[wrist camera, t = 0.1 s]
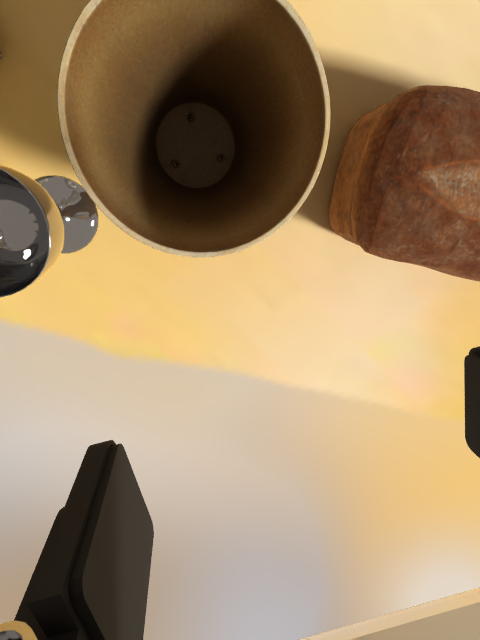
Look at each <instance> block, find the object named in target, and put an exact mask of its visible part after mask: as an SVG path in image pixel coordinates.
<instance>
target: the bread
mask: <svg viewBox="0 0 480 640" xmlns="http://www.w3.org/2000/svg"><path fill="white" fill-rule="evenodd" d="M329 219H330V226H331V229H332V230H333V231H334V232H336V233H337V234H338V235H340V236H341V237H343V238H344V239H345V240H348V241H350V242H352V243H355V244H357V245H360V246H361V247H362V249H363V250H364V251H365V252H367V253H370V254H373V255H375V256H378V257H381V258H385V259H390V260H394V261H399V262H406V263H411V264H415V265H420V266H424V267H427V268H430V269H433V270H436V271H439V272H443V273H446V274H449V275H453V276H457V277H461V278H465V279H470V280H475V281H480V92H477V91H473V90H470V89H466V88H458V87H450V86H419V87H416V88H414V89H411V90H409V91H406V92H404V93H401V94H399V95H398V96H397V97H396V98H395V99H394V100H393V101H392V102H388V103H385V104H383V105H380V106H379V107H377V108H376V109H375V110H373V111H372V112H371V113H368V114H364V115H363V116H362V117H361V119H360V120H359V121H358V122H357V123H356V124H355V125H354V126H353V128H352V129H351V130H350V133H349V136H348V139H347V142H346V145H345V148H344V151H343V154H342V157H341V160H340V164H339V167H338V170H337V173H336V178H335V184H334V189H333V194H332V199H331V205H330V210H329Z"/></svg>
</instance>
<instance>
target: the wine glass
mask: <svg viewBox="0 0 480 640" xmlns="http://www.w3.org/2000/svg"><path fill="white" fill-rule="evenodd" d="M97 227H98V212H97V208H96V205H95V203H94V202H93V200H92V199H91V198H90V196H89V195H88V193H87V192H86V190H85V189H84V188H83V187H82V186H81V185H79V184H78V183H76V182H75V181H73V180H71V179H68V178H65V177H62V176H45V177H41V178H39V179H37V180H34V179H32V178H31V177H29V176H27V175H25V174H23V173H21V172H19V171H17V170H15V169H13V168H9V167H6V166H3V165H0V297H4V296H8V295H12V294H14V293H16V292H19V291H21V290H23V289H25V288H27V287H28V286H30V285H32V284H33V283H35V282H36V281H37V280H39V279H40V278H41V277H43V276H44V275H45V274H46V273H47V272H48V271H49V270H50V269H51V268H52V267H53V265H54V264H55V262H56V261H57V259H58V258H59V256H60V254H61V253H72V252H76V251H78V250H81V249H82V248H84V247H85V246H87V245H88V244H89V243H90V242H91V240H92V239H93V237H94V236H95V233H96V231H97Z"/></svg>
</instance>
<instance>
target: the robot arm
mask: <svg viewBox="0 0 480 640" xmlns="http://www.w3.org/2000/svg"><path fill="white" fill-rule="evenodd" d="M464 367H465V438H466V442H467V444H468V446H469V448H470V449H471V450H472V451H473V452H474V453H475V454H476V455H477V456H478V457H479V458H480V347H476V348H472V349H471V350H470V352H469V355H467V356H466V357H465V361H464ZM153 537H154V531H153V524H152V520H151V517H150V515H149V512H148V510H147V507H146V504H145V502H144V499H143V496H142V494H141V491H140V488H139V486H138V483H137V481H136V478H135V475H134V473H133V470H132V468H131V465H130V462H129V460H128V457H127V455H126V452H125V450H124V447H123V445H122V444H117V445H116V444H115V443H114V441H113V440H110V441H106V442H102V443H98V444H94V445H91V446H89V447H88V449H87V451H86V454H85V456H84V459H83V461H82V464H81V467H80V469H79V472H78V474H77V477H76V479H75V482H74V484H73V487H72V489H71V492H70V495H69V497H68V500H67V502H66V505H65V507H63V508H62V509H61V510H60V511H59V512H58V514H57V516H56V519H55V521H54V524H53V526H52V528H51V531H50V534H49V536H48V538H47V541H46V543H45V546H44V548H43V551H42V553H41V555H40V558H39V560H38V563H37V565H36V568H35V570H34V573H33V575H32V578H31V580H30V583H29V585H28V587H27V590H26V592H25V595H24V598H23V600H22V602H21V605H20V607H19V610H18V612H17V615H16V617H15V619H14V621H11V622H5V623H2V624H0V640H143V634H144V624H145V614H146V604H147V595H148V585H149V576H150V565H151V556H152V547H153ZM299 640H480V588H477V589H473V590H470V591H466V592H463V593H459V594H456V595H452V596H449V597H445V598H442V599H438V600H434V601H431V602H427V603H424V604H420V605H417V606H413V607H410V608H407V609H403V610H400V611H396V612H393V613H389V614H386V615H383V616H379V617H375V618H372V619H368V620H365V621H361V622H358V623H354V624H351V625H347V626H344V627H341V628H337V629H334V630H330V631H327V632H323V633H320V634H317V635H313V636H310V637H306V638H303V639H299Z"/></svg>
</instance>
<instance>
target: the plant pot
mask: <svg viewBox="0 0 480 640" xmlns="http://www.w3.org/2000/svg"><path fill="white" fill-rule="evenodd" d="M57 96H58V115H59V123H60V128H61V133H62V137H63V141H64V144H65V148H66V151H67V154H68V156H69V159H70V162H71V164H72V167H73V169H74V171H75V173H76V175H77V177H78V179H79V181H80V182H81V184H82V186H83V187H84V189H85V190H86V192H87V193H88V195H89V196H90V198H91V199H92V200H93V202H94V203H95V204H96V205H97V207H98V208H99V209H100V210H101V211H102V212H103V213H104V214H105V215H106V216H107V217H108V218H109V219H110V220H111V221H112V222H113V223H114V224H115V225H117V226H118V227H119V228H120V229H122V230H123V231H124V232H126V233H127V234H129V235H130V236H132V237H133V238H135V239H137V240H139V241H140V242H142V243H144V244H146V245H148V246H150V247H152V248H155V249H158V250H161V251H163V252H167V253H170V254H175V255H180V256H188V257H216V256H223V255H227V254H231V253H235V252H239V251H242V250H244V249H247V248H249V247H251V246H254V245H256V244H258V243H259V242H261V241H263V240H265V239H266V238H268V237H269V236H271V235H272V234H274V233H275V232H276V231H278V230H279V229H280V228H281V227H282V226H283V225H285V224H286V223H287V222H288V221H289V220H290V219H291V218H292V217H293V216H294V214H295V213H296V212H297V211H298V209H299V208H300V207H301V206H302V204H303V203H304V201H305V200H306V198H307V197H308V195H309V193H310V192H311V190H312V188H313V186H314V184H315V182H316V179H317V177H318V175H319V173H320V170H321V167H322V164H323V161H324V157H325V153H326V150H327V145H328V138H329V131H330V97H329V90H328V84H327V79H326V75H325V71H324V67H323V64H322V61H321V58H320V55H319V52H318V49H317V47H316V45H315V43H314V40H313V38H312V36H311V34H310V32H309V30H308V28H307V27H306V25H305V24H304V22H303V20H302V19H301V17H300V16H299V15H298V13H297V12H296V11H295V9H294V8H293V7H292V6H291V4H290V3H289V2H288V1H287V0H90V1H89V2H88V4H87V5H86V7H85V8H84V10H83V11H82V13H81V14H80V16H79V18H78V19H77V21H76V23H75V25H74V27H73V29H72V31H71V33H70V35H69V38H68V40H67V43H66V46H65V49H64V53H63V57H62V61H61V66H60V71H59V80H58V92H57ZM189 115H191V117H192V118H191V120H190V121H189V119H188V116H189ZM219 155H222V156H223V158H222V159H221V158H220V157H219ZM175 164H179V166H178V167H176V168H175V167H174V165H175Z"/></svg>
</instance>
